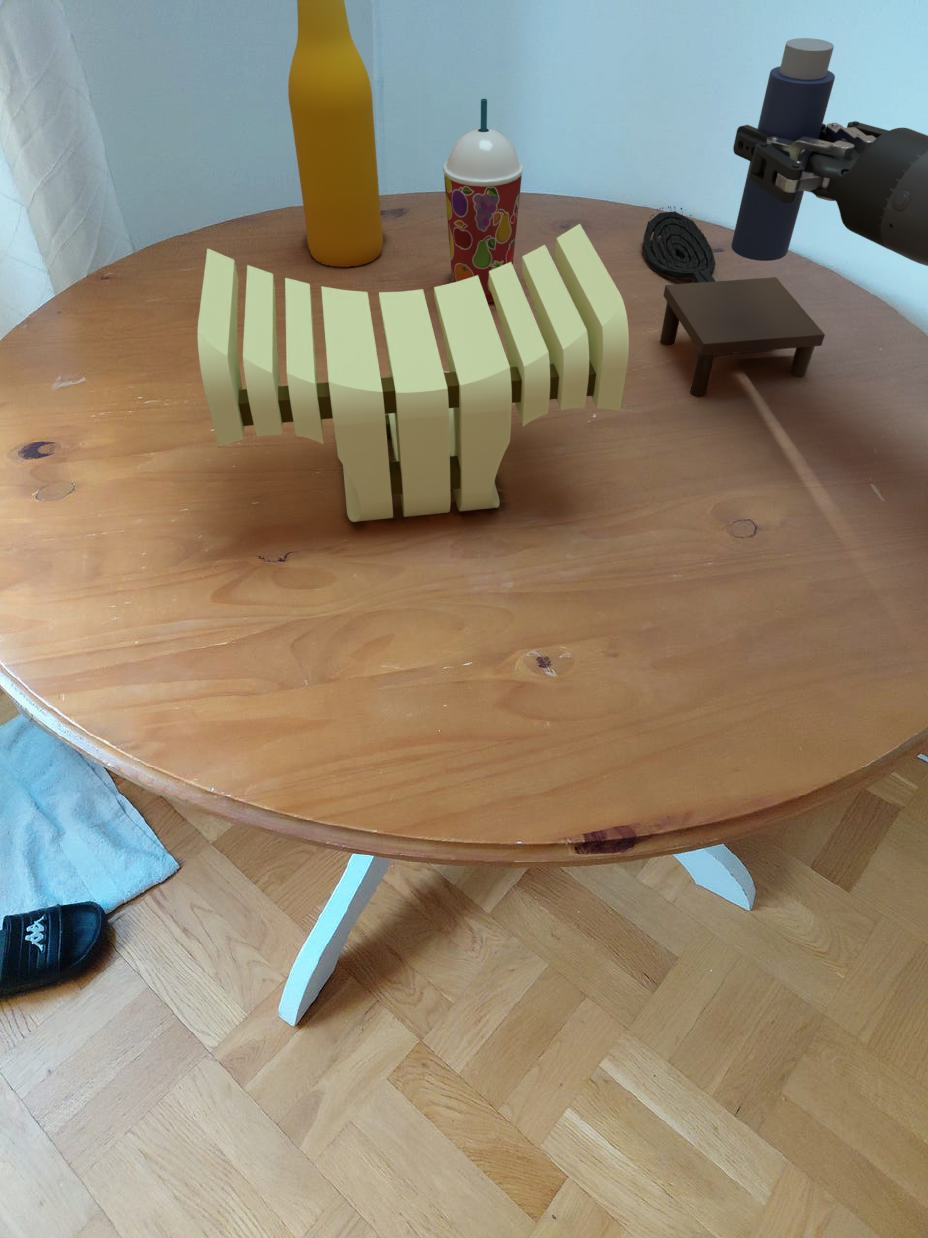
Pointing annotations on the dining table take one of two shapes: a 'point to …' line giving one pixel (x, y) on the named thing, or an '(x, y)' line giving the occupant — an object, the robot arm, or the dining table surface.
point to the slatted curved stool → (417, 371)
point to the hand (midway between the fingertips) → (764, 132)
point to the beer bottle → (334, 138)
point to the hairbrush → (678, 248)
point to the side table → (738, 322)
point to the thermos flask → (789, 115)
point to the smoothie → (482, 202)
